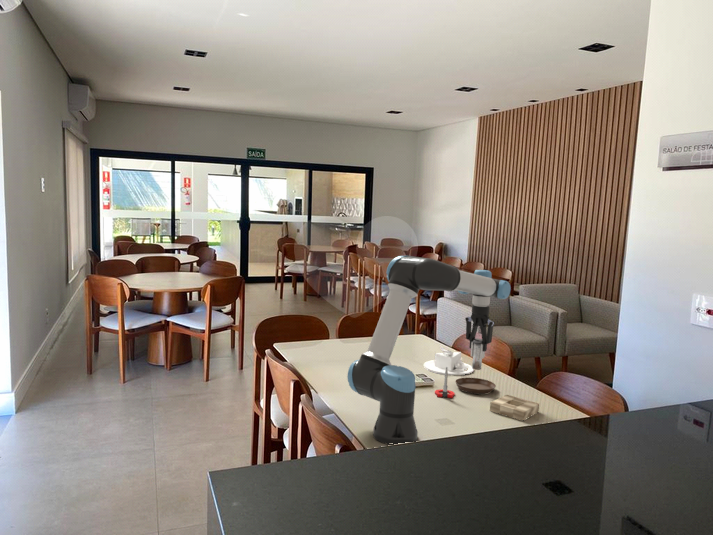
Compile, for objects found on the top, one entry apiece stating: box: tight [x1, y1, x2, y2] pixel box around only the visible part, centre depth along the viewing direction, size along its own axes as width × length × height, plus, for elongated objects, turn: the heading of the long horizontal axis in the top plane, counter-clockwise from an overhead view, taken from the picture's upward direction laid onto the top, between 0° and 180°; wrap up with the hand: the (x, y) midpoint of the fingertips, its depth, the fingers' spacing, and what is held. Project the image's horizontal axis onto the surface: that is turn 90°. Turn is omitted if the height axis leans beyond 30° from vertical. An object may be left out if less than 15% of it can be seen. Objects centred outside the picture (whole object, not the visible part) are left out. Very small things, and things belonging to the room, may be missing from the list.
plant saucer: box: [454, 377, 497, 395], centre depth 239 cm, size 18×18×3 cm
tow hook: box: [434, 367, 456, 399], centre depth 230 cm, size 8×13×9 cm
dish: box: [423, 345, 475, 376], centre depth 270 cm, size 25×25×11 cm
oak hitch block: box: [489, 394, 540, 421], centre depth 213 cm, size 14×14×4 cm
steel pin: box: [471, 338, 483, 371], centre depth 238 cm, size 5×5×13 cm
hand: (477, 356), depth 238 cm, fingers closed on steel pin, 4 cm apart
